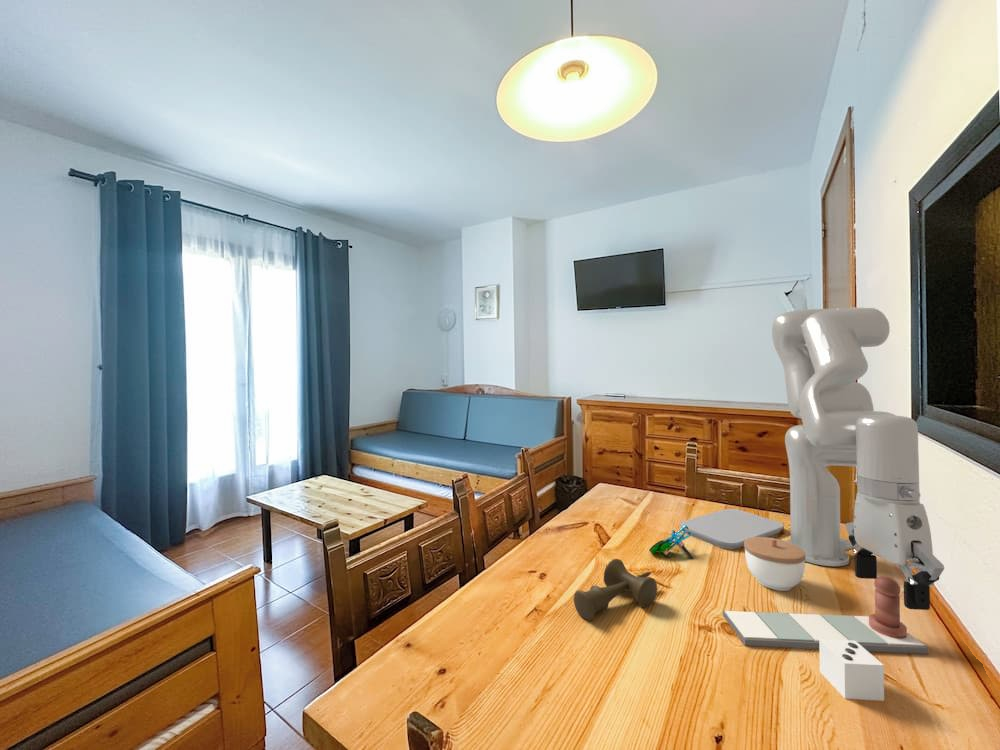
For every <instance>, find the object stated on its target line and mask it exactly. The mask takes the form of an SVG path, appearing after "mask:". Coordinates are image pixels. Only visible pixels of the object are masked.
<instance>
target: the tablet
mask: <svg viewBox="0 0 1000 750" xmlns="http://www.w3.org/2000/svg"><path fill="white" fill-rule="evenodd" d="M684 526H687V527H688V528H689V529H687V528H685V529H684V530H685V531H686V534H685V535H689V534H688V532H690V534H691V535H692V536H691V537H694V538H697V539H699V540H702V541H705V542H706V543H709V544H711V545H714V546H716V547H719V548H721V549H726V550H736V549H739V548H741V547H744V541H745V540H746V539H748V538H751V537H769V538H770V537H771V536H775V535H777V534H780V533H781V530H784V524H783V523H782V522H780V521H777V520H774V519H771V518H767V517H765V516H761V515H758V514H754V513H752V512H748V511H745V510H741V509H737V508H724V509H721V510H718V511H714V512H711V513H706V514H704V515H701V516H697V517H693V518H689V519H685V520H682V521H680V522H679V527H680V528H681V529H682V528H683V527H684ZM683 532H684V531H682V533H683Z"/></svg>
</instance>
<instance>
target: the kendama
mask: <svg viewBox="0 0 1000 750" xmlns="http://www.w3.org/2000/svg"><path fill="white" fill-rule="evenodd" d="M651 573H652V572H650V571H647V572H644V573H642V574H640V575H637V576H636V575H634V574H632V573H631V572H629V571H628V570H627V568H626V566H625V564H624V562H623V561H622V559H619V558H615V559H611V560H610V561H609V562H608V563H607V564H606V565H605V569H604V573H603V583H604V585H605V586H603V587H601V586H598V585H591V586H590V588H589V590H587V591H584V590H582V589H580V590H576V591H575V593H574V596H573V604H574V608H575V610H576V612H577V613H578V615H579V616H580V617H581V618H582V619H583V620H585V621H593V619H594V618H595V615H596V613H597V612H598V611H601V612H602V611H607V610H608V608H609V604H610V602H612V601H613V599H614V598H616V597H617V596H619V595H620V594H621V593H622V592H625V591H628V592H629V593H630V594H632V596H633V597H634V598H635V600H636V601H637V603H638V605H639V607H642V608H645V609H646V608H648V607H650V606H651V605H653V603H654V602H655V600H656V598H657V594H658V584H657V582H656V580H655V579H654V578H652V577H649V576H651Z"/></svg>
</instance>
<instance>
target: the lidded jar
mask: <svg viewBox="0 0 1000 750" xmlns="http://www.w3.org/2000/svg"><path fill="white" fill-rule="evenodd" d="M786 541H787V540H782V539H779V538H773V537H770V536H769V537H751V538H748V539H746V540H745V541H744V546H743V547H744V556H745V562H746V565H747V567H748V568H747V569H748V570H749V572H750V573H751V575H752V576H753V577H754V578H755V579H756V580H757V582H758V583H759V584H760V585H761V586H763V587H764V588H766V589H767V588H768V589H771V590H772V591H773V590H774V591H780V592H788V591H791V590H792V588H794V587H795V586H798V584H799V583H800V582H801V581H802V579H803V577H804V573H805V568H806V561H805V557H806V556H805V552H804V551H803V550H802V549H801V548H800V547H798V546H796V545H794V544H792V543H789V542H786Z"/></svg>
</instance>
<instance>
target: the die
mask: <svg viewBox="0 0 1000 750" xmlns="http://www.w3.org/2000/svg"><path fill="white" fill-rule="evenodd" d="M818 650H819V673H821V675H822V676H824V677H825V679H826V680H827V681H828V683H830V684H831V685H832V686H833V688H834V689H836V691H837V692H838V693H839V694H840V695H841V696H842V697H843V698H844V699H848V700H849V699H850V700H851V699H852V700H864V701H865V700H866V701H883V702H884V701H885V665H884V663H882V662H881V661H879V659H877V658H876V657H875V656H874V655H873V654H872V653H870V651H867V650H866V649H864V648H863V647H862V646H861V645H860V644H859V643H857V642H856V641H853V640H829V639H819V649H818Z"/></svg>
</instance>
